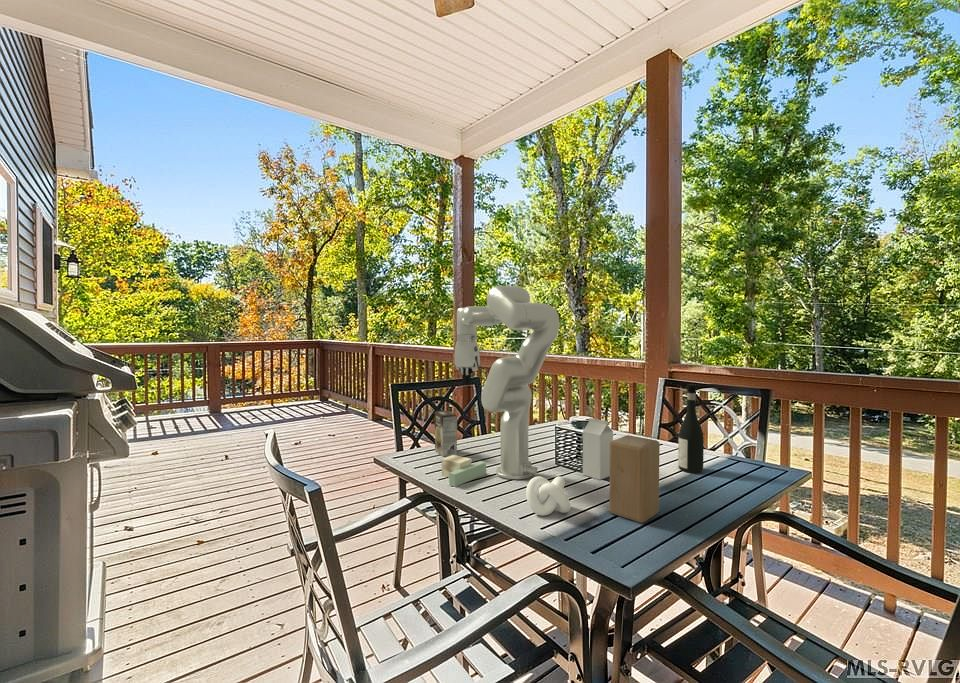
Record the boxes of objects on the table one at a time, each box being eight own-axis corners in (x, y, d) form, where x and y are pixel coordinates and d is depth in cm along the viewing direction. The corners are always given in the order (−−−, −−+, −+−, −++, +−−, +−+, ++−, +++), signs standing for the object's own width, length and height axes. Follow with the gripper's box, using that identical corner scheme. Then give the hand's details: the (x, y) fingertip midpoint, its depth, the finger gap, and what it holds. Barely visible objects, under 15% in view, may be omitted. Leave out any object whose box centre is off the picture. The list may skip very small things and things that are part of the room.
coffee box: (434, 451, 186) (434, 411, 185) (449, 449, 188) (448, 410, 188) (442, 456, 177) (441, 415, 177) (457, 454, 180) (457, 414, 179)
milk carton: (600, 480, 150) (600, 422, 149) (582, 475, 155) (582, 419, 155) (613, 475, 154) (613, 419, 154) (595, 470, 160) (595, 416, 159)
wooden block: (607, 513, 124) (608, 440, 123) (625, 503, 131) (626, 433, 130) (643, 525, 117) (643, 447, 116) (660, 513, 124) (661, 440, 123)
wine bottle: (680, 472, 157) (681, 385, 156) (676, 465, 165) (677, 382, 163) (705, 474, 155) (707, 386, 154) (700, 467, 163) (701, 383, 162)
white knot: (533, 499, 134) (533, 469, 134) (575, 505, 130) (575, 474, 129) (523, 515, 123) (523, 482, 123) (567, 521, 119) (567, 487, 119)
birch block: (471, 476, 155) (471, 458, 155) (460, 481, 150) (459, 463, 150) (453, 471, 160) (453, 454, 160) (441, 476, 155) (441, 458, 155)
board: (486, 473, 157) (486, 462, 157) (454, 486, 145) (454, 474, 145) (480, 472, 159) (480, 460, 158) (449, 485, 146) (449, 472, 146)
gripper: (487, 338, 180) (487, 385, 181) (458, 338, 189) (458, 382, 190) (474, 339, 174) (475, 387, 175) (446, 338, 184) (446, 384, 184)
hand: (466, 384), depth 183 cm, fingers closed
